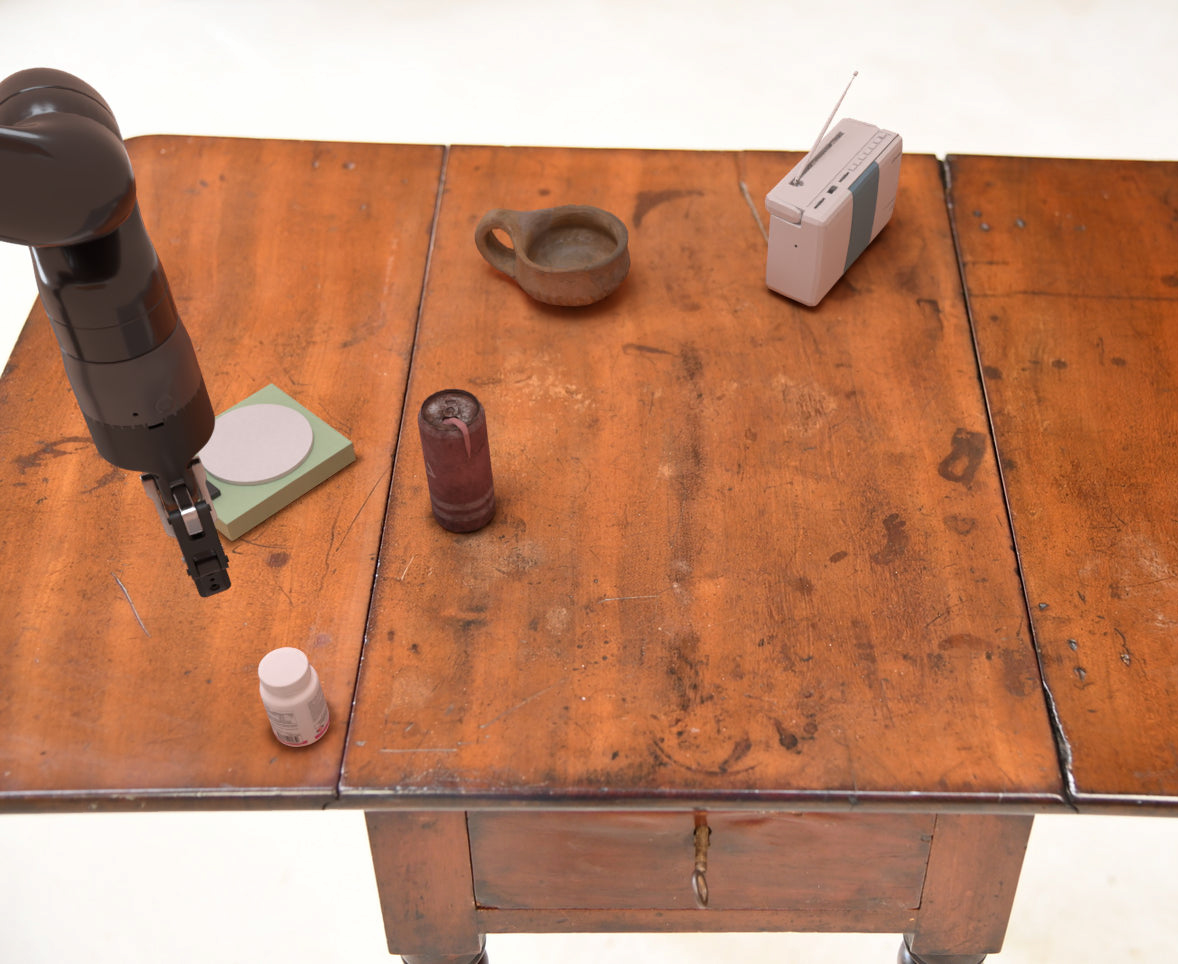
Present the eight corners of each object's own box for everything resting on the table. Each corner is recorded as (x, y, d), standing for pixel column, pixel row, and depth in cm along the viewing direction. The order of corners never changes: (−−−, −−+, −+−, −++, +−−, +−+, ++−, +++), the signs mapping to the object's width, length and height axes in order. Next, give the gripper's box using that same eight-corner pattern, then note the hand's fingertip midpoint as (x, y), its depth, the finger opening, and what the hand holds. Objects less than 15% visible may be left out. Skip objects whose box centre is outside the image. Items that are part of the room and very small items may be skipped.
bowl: (464, 318, 155) (459, 232, 150) (485, 272, 167) (481, 191, 162) (625, 325, 155) (625, 239, 150) (634, 278, 167) (634, 197, 162)
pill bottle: (316, 692, 121) (298, 633, 115) (340, 730, 119) (323, 672, 113) (264, 718, 119) (243, 660, 113) (287, 758, 117) (267, 700, 111)
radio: (816, 317, 160) (833, 168, 145) (754, 292, 162) (764, 144, 148) (894, 226, 172) (916, 81, 158) (835, 205, 175) (851, 60, 161)
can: (458, 546, 134) (443, 442, 124) (421, 509, 137) (403, 404, 127) (510, 516, 137) (499, 412, 127) (472, 480, 140) (458, 376, 130)
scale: (232, 542, 133) (224, 519, 131) (152, 475, 138) (143, 453, 136) (356, 459, 141) (351, 437, 139) (276, 400, 147) (270, 377, 144)
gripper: (52, 333, 91) (121, 502, 102) (103, 473, 82) (171, 639, 94) (169, 300, 93) (223, 468, 105) (229, 432, 85) (281, 599, 97)
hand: (199, 549), depth 100 cm, fingers open, 8 cm apart
